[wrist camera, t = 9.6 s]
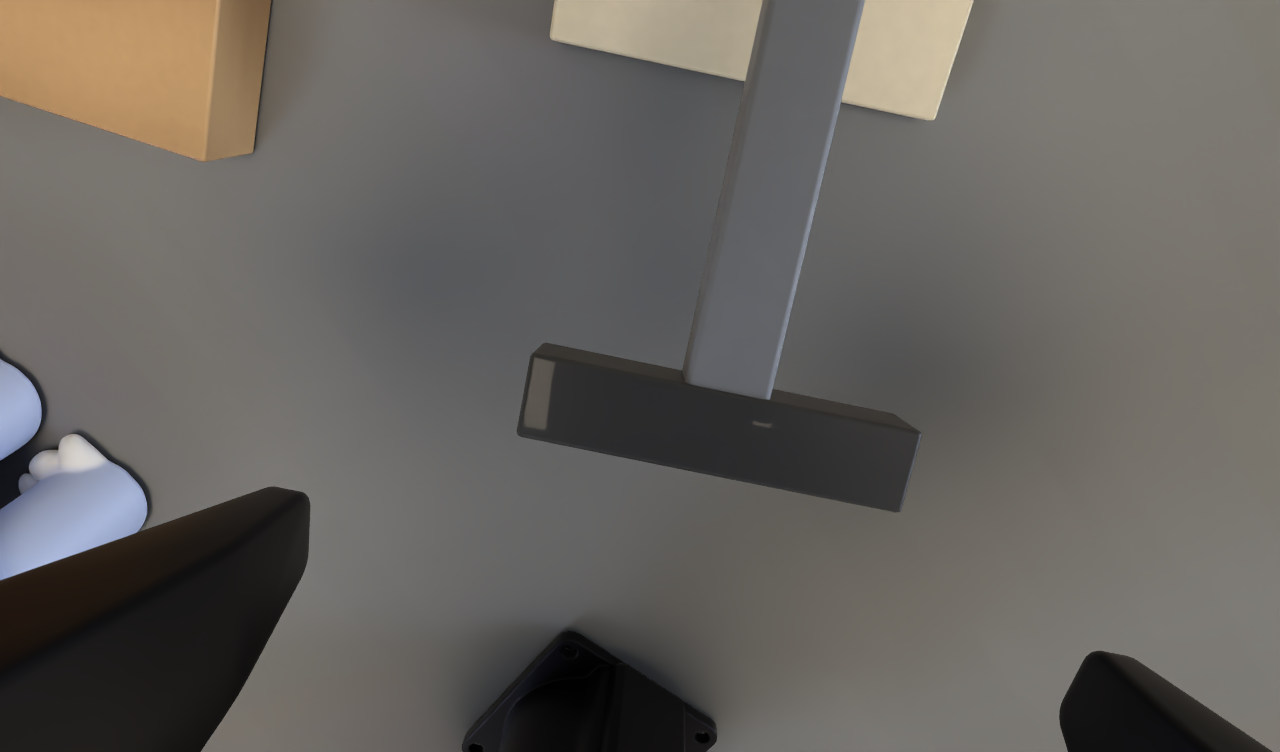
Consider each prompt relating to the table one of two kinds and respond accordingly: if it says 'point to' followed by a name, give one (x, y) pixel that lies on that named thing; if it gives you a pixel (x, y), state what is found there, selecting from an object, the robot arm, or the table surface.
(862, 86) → the lever bracket
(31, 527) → the hippopotamus toy
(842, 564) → the table surface
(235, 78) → the button block
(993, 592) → the table surface
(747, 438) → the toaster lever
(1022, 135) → the table surface
